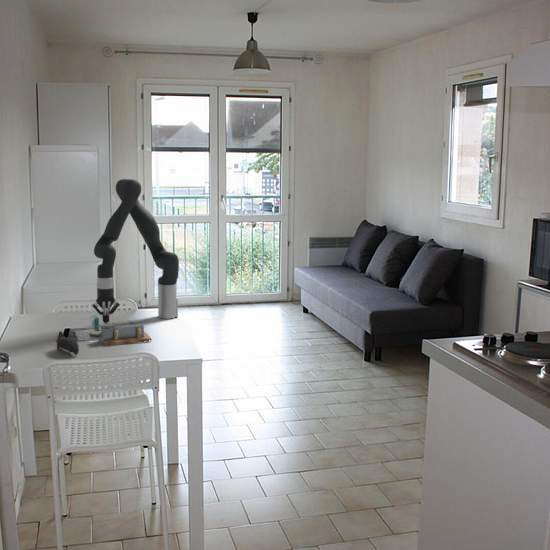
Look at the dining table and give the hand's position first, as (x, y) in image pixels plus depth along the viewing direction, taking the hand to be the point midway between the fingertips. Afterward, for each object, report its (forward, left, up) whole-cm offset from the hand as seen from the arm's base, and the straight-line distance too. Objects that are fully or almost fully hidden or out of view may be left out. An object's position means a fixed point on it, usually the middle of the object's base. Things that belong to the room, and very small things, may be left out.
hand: (105, 322), depth 330 cm
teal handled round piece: (+5, +5, -2) cm, 7 cm away
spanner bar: (-4, +21, -2) cm, 22 cm away
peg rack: (-5, +21, -3) cm, 22 cm away
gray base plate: (+7, +7, -3) cm, 11 cm away
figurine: (+21, +32, -4) cm, 38 cm away
